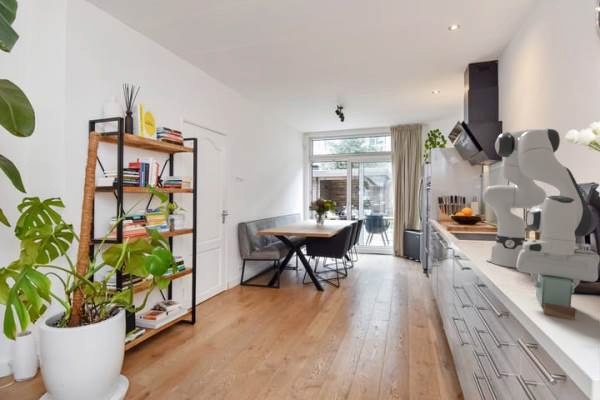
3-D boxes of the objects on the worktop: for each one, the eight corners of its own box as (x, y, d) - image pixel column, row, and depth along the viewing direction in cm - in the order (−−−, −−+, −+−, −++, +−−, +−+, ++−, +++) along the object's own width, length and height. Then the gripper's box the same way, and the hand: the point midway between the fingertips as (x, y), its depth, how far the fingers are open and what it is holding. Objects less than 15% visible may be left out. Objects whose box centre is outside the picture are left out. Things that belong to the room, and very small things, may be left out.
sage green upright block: (535, 295, 108) (537, 270, 108) (562, 299, 105) (564, 273, 104) (541, 306, 99) (543, 278, 98) (570, 311, 95) (572, 282, 95)
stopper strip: (543, 312, 95) (543, 302, 95) (573, 317, 92) (573, 307, 92) (544, 314, 94) (545, 304, 94) (574, 320, 90) (575, 309, 90)
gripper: (596, 249, 98) (593, 293, 99) (517, 241, 108) (514, 281, 109) (603, 253, 93) (599, 299, 93) (519, 244, 103) (516, 286, 104)
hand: (553, 289), depth 101 cm, fingers closed on sage green upright block, 7 cm apart
